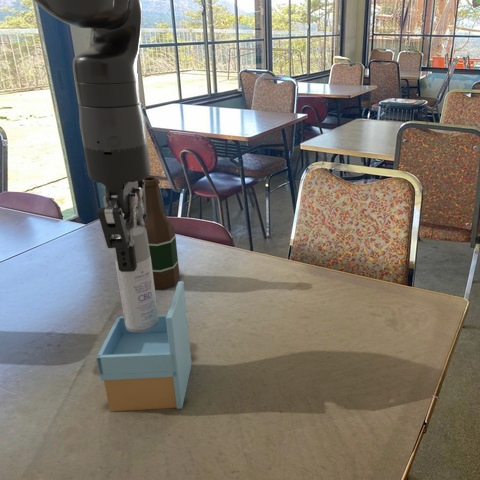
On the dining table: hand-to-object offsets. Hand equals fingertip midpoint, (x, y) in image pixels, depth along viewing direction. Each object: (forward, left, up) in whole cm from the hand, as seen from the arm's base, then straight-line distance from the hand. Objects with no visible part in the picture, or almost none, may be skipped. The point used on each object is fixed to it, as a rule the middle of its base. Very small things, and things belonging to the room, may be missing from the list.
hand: (132, 261), depth 67 cm
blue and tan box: (0, 0, -22) cm, 22 cm away
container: (0, 0, -11) cm, 11 cm away
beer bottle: (-5, +35, -22) cm, 42 cm away
